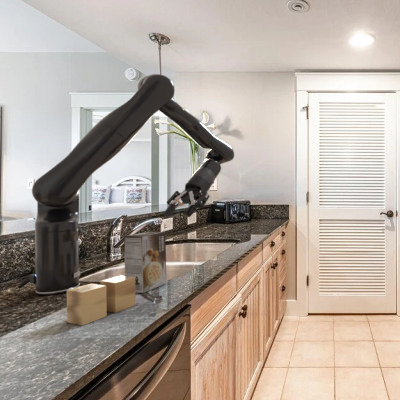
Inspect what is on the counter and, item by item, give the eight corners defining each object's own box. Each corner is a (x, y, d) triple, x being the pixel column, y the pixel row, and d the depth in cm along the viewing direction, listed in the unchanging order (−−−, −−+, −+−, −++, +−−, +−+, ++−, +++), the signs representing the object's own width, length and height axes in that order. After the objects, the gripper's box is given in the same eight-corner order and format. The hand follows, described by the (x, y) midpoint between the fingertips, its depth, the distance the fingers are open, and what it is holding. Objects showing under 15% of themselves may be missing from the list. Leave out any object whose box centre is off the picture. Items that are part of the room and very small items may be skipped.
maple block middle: (100, 310, 69) (100, 280, 69) (121, 302, 74) (120, 275, 74) (115, 312, 67) (115, 282, 67) (135, 305, 72) (135, 277, 72)
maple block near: (66, 322, 62) (66, 290, 62) (91, 313, 67) (91, 283, 67) (82, 325, 61) (82, 292, 61) (106, 316, 65) (106, 285, 65)
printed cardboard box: (149, 282, 91) (148, 231, 90) (167, 283, 89) (166, 231, 89) (124, 292, 82) (123, 235, 81) (143, 293, 80) (142, 236, 80)
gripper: (180, 174, 106) (153, 207, 96) (211, 173, 102) (187, 207, 91) (191, 189, 112) (166, 221, 101) (221, 189, 107) (199, 223, 96)
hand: (176, 215), depth 96 cm, fingers open, 8 cm apart
